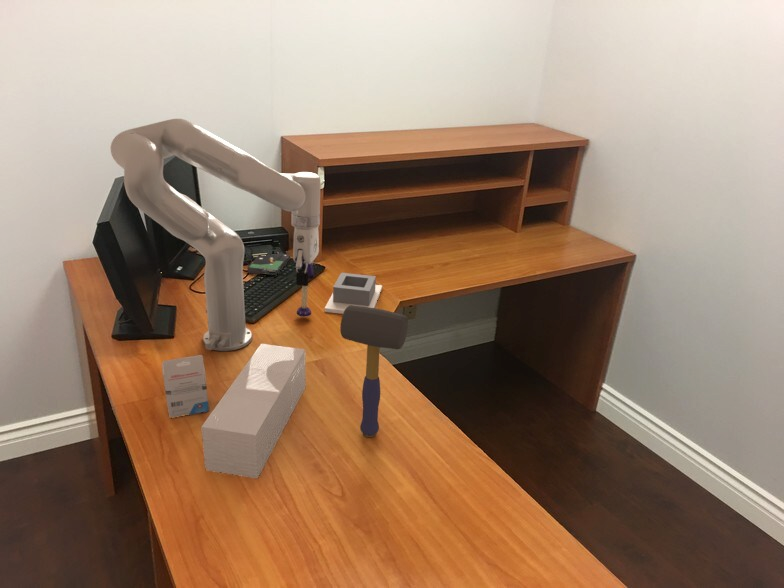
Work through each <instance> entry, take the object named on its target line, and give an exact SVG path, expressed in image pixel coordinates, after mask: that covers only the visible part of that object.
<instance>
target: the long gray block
mask: <svg viewBox="0 0 784 588" xmlns="http://www.w3.org/2000/svg"><path fill="white" fill-rule="evenodd" d="M306 386H307V385H306V349H304V348H298V347H291V346H282V345H276V344H275V345H274V344H268V343H260V344H259V346H258V347H257V349H256V350H255V352H253V354H252V355H251V357H250V358H249V360H248V361H247V362H246V364H245V365H244V367H243V368H242V369H241V371H240V372H239V373H238V374H237V376H236V378H235V379H234V381H233V382H232V383H231V385H230V386H229V387H228V389H227V390H226V392H225V393H224V395H223V396H222V398H221V399H220V400H219V402H218V403H217V404H216V406H215V407H214V409H213V410H212V411H211V412H210V414H209V415H208V417H207V418H206V420H205V421H204V422H203V424H202V425H201V426H200V430H201V438H202V441H201V442H202V447H203V448H202V449H203V459H204V461H203V462H204V467H205V469H206V470H209V471H208V472H211V471H215V472H214V473H218V472H222V473H221V474H224V473H227V474H226V475H230V474H233V475H232V476H236V475H240V476H239V477H242V476H246V477H245V478H248V477H252V478H251V479H255V478H258V477H260V476H261V474H262V471H263V470H264V468H265V466H266V464H267V462H268V460H269V458H270V457H269V456H271V454H272V453H273V450H274V449H275V447H276V445H277V443H278V441H279V439H280V437H281V435H282V433H283V432H282V431H284V430H283V429H285V427H286V426H287V424H288V422H289V420H290V419H291V416H292V414H293V413H294V410H295V408H296V407H297V405H298V402H300V401H299V400H300V399H301V397H302V395H303V394H304V392H305V390H306ZM205 469H204V470H205ZM262 469H263V470H262ZM260 473H261V474H260ZM241 475H242V476H241ZM259 475H260V476H259ZM258 479H259V478H258Z"/></svg>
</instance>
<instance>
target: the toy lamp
mask: <svg viewBox="0 0 784 588" xmlns="http://www.w3.org/2000/svg"><path fill="white" fill-rule="evenodd" d="M302 261H305V260H302ZM302 266H304V268H305V264H302ZM307 272H308V277H309V276H312V275H313V276H314V274H315V271H314V265H313V266H312V263H311V264H308V267H307ZM308 288H309V285H308V286H301V300H300V301H301V304H300V306H299V308H297V310H296V315H297V316H299V317H303V318H304V317H309V316H311V315H312V310H311V309H310V307H308V297H309V296H308V292H309V290H308Z"/></svg>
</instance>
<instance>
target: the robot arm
mask: <svg viewBox="0 0 784 588" xmlns="http://www.w3.org/2000/svg"><path fill="white" fill-rule="evenodd" d="M110 154H111V157H112V159H113V160H114V162H115V163H116V164H117V165H118V166H119V167H121V168H122V169H123V184H124V188H125V192H126V195H127V197H128V199H129V201H130V202H131V203H132V204H133V205H134V206H135V207H136V208H137V209H138V210H139V211H141V212H143V214H145V215H147V216H148V217H149V218H150V219H152V220H153V221H155V222H156V223H157V224H158V225H160V226H161V227H163V228H164V229H165V230H166V231H167V232H168V233H170V235H172V236H173V237H176V238H177V239H180V240H182V241H184V242H185V243H187V245H189V246H191V247H193V248H194V249H195V250H196V251H197V252H199V254H201V255H202V256H203V257H204V259H205V267H204V272H203V273H204V275H203V276H204V277H203V278H204V289H205V290H204V292H205V293H204V294H205V302H206V304H205V305H206V314H207V315H206V316H207V325H208V326H207V327H208V330H207V331H206V332H205V333H204V334H203V338H202V339H203V344H204V348H205V349H206V350H208V351H211V350H213V351H220V352H228V351H232V352H233V351H235V350H236V351H237V350H239V349H243V348H244V347H246V346H248V345H249V344H250V343H251V342H252V339H253V333H252V331H251V329H249V328H247V327H246V310H245V293H244V275H243V273H244V272H243V269H244V260H245V245H244V242H243V240H242V238H241V237H240V235H239V234H238V233H237V232H236V231H235V230H233V229H232V228H230V227H229V226H228V225H226V224H225V223H223V222H222V221H220V220H219V219H218V218H217V217H215V216H213V215H212V214H211V213H210V212H208V211H207V210H205V208H203V207H202V206H200V205H199V204H198V203H197V202H196V201H194V200H193V199H191V197H189V196H187V195H185V194H183V193H181V192H179V191H177V189H175V188H174V187H173V186H171V185H170V184H169V183H168V182H167V181H166V180H165V178H164V159H167V158H170V157H173V156H175V157H177V159H180V160H182V161H184V162H185V163H187V164H189V165H192V166H193V167H195V168H197V169H199V170H202V171H204V172H206V173H208V174H209V175H211V176H214V177H215V178H216V179H220V180H221V181H223V182H225V183H228V184H229V185H231V186H233V187H235V188H237V189H239V190H242V191H245V192H247V193H250V194H251V195H253V196H255V197H257V198H259V199H261V200H263V201H265V202H268V203H269V204H271V205H273V206H276V207H278V208H279V209H282V210H283V211H285V212H291V223H290V224H291V226H292V227H294V231H293V243H292V245H293V246H292V247H293V249H292V251H293V252H292V254H293V255H292V257H293V261H294V263H296V264H295V268H296V269H295V270H296V280H295V282H296V286H301V287H302V286H308V287H309V279H313V278H314V274H313V275H312V276H309V277H308V272H307V267H308V264H311V263H312V266H313V267H314V261H315V259H316V258H317V256H318V255H319V253H320V246H319V245H320V242H319V241H320V240H319V237H320V235H319V227H320V223H321V222H320V221H321V217H320V215H321V178H320V176H319V175H318V174H317V173H314V172H309V171H300V172H296V173H280V172H279V171H277V170H275V169H273V168H271V167H269V166H267V164H264V163H263V162H261V161H259V160H258V159H257V158H256V157H254V156H252V155H251V154H249V153H248V152H246V151H245V150H242V149H240V148H239V147H237V146H236V145H235V146H234V145H233V144H231V143H229V142H228V141H226V140H224V139H223V138H220V137H218V136H217V135H215V134H213V133H212V132H210V131H208V130H206V129H204V128H202V127H201V126H199V125H197V124H195V123H192V122H191V121H189V120H187V119H182V118H170V119H167V120H163V121H158V122H154V123H150V124H146V125H143V126H138V127H133V128H129V129H126V130H123V131H121V132H119V133H118V134H116V135H115V136H114V138H113V139H112V141H111V143H110ZM302 260H305V261H302ZM302 264H305V268H304V266H302Z"/></svg>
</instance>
